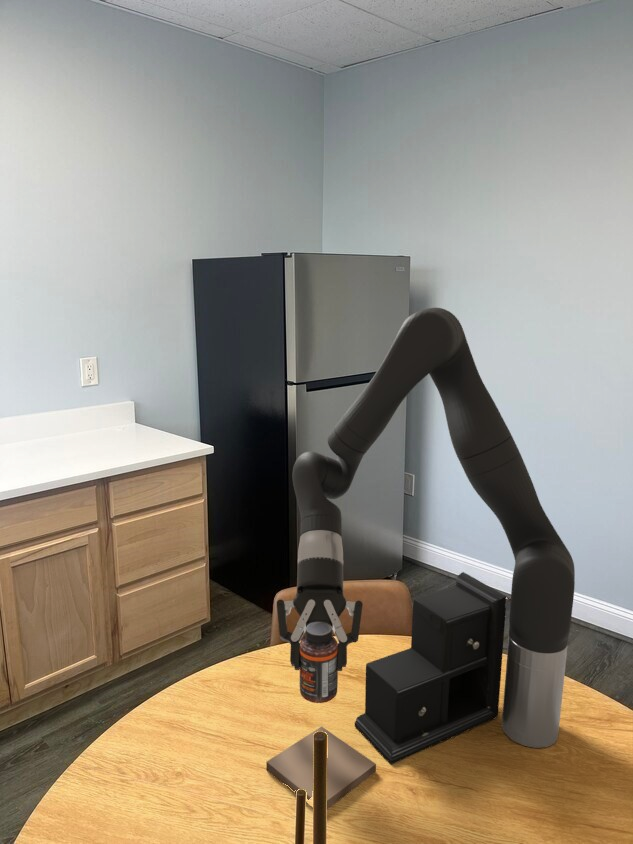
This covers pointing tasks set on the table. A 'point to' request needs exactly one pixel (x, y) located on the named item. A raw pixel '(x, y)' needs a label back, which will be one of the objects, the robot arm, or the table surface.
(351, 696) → the table surface
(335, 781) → the brown flat square block
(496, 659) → the black drawer cabinet
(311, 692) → the supplement bottle
